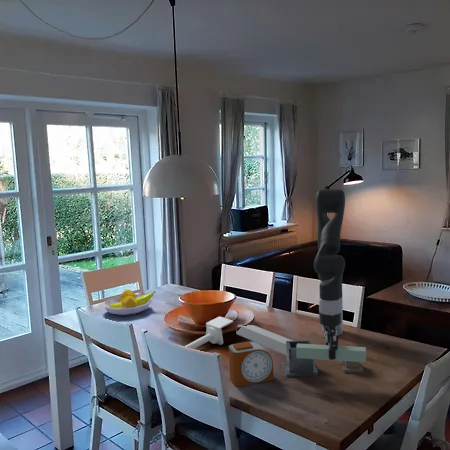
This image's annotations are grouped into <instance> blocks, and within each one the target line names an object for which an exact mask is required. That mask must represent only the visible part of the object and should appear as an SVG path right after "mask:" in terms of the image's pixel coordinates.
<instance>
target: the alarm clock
mask: <svg viewBox="0 0 450 450" xmlns="http://www.w3.org/2000/svg"><path fill="white" fill-rule="evenodd" d="M228 361H229V363H228V364H229V380H230V381H231V382H232V384H233V386H236V387H245V386H250V385H254V384H255V385H256V384H260V383H265V382H271V381H274V378H275V377H274V361H273V357H272V355H271V354H270V353H269V352H268V351H267V350H266V349H265V348H264V346H263V345H261V344H258V343H256V342H254V341H247V342H246V341H245V342H238V343H232V344H230V345H228Z"/></svg>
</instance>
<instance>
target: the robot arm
mask: <svg viewBox="0 0 450 450" xmlns="http://www.w3.org/2000/svg"><path fill="white" fill-rule="evenodd" d="M315 207H316V208H315V209H316V216H317V217H316V219H317V250H318V251H317V254H316V256H315V258H314V261H313V269H314V272H315V273H317V276H318V280H319V281H320V283H319V301H318V313H319V314H318V315H319V316H318V317H319V319H318V322H319V324H320V325H321V329H322V330H321V332H322V334H323V340H324V343H325V345H328V346H329V347H328V348H329V359H330V360H329V361H336V360H335V359H336V350H337V349H338V346H339V336H341V335H343V332H344V329H343V328H344V325H343V324H344V321H343V320H344V319H343V315H344V314H343V313H344V312H343V306H344V305H343V276H344V275H343V274H344V271H345V269H346V260H345V258H344V257H343V256H342V255H340V254H339V253H340V250H341V234H342V233H341V232H342V227H343V221H344V216H345V215H344V214H345V207H346V194H345V192H344V190H343V189H338V188H337V189H335V188H334V189H332V188H331V189H330V188H329V189H328V188H326V189H318V190H317V193H316V195H315ZM328 214H334V215H333V216H332V218H331V219H330V218H329V216H328ZM332 345H334V346H332Z"/></svg>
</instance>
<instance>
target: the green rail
mask: <svg viewBox="0 0 450 450" xmlns="http://www.w3.org/2000/svg"><path fill="white" fill-rule="evenodd" d="M332 346H334V345H332ZM328 347H329V346H328V345H326V344H315V343H310V344H299V343H297V347H296V356H297V358H305V359H313V360H321V361H322V360H323V361H324V360H325V361H331V360H330V359H329V348H328ZM366 348H367V347H365V346H354V345H353V346H350V345H338V349H337V350H336V359H335V360H334V361H337V362H339V361H353V362H359V363H366V362H367V349H366Z"/></svg>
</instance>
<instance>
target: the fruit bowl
mask: <svg viewBox="0 0 450 450" xmlns="http://www.w3.org/2000/svg"><path fill="white" fill-rule="evenodd" d="M155 293H156V290H153V291H152V292H150V293H146V294H136V293H135V292H133V291H132V290H131V289H125V290H123V292H121V294H120V295H119V296H115V297H111V298H109V299H108V300H105V301H104V302H103V307H104V308H105V310H106V312H109V313H110V314H114V315H116V314H117V316H130V314H134V315H137V314H139V313H140V312H143V311H145V310H147V309H148V308H149V307H150V305H151V304H152V302H153V299H152V297H154V294H155ZM136 313H137V314H136Z"/></svg>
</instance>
